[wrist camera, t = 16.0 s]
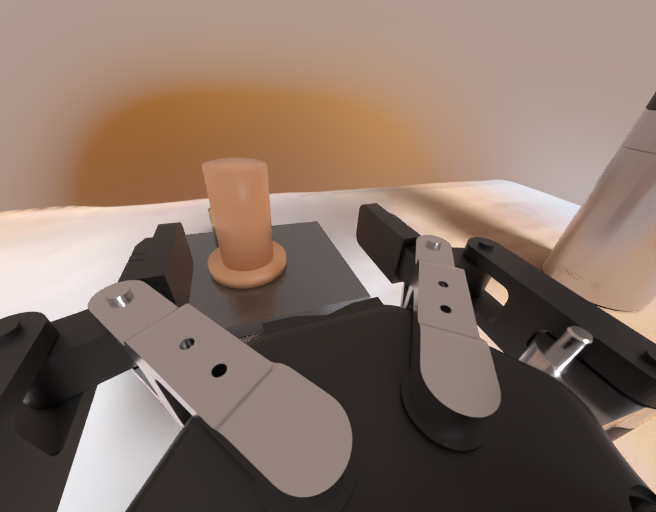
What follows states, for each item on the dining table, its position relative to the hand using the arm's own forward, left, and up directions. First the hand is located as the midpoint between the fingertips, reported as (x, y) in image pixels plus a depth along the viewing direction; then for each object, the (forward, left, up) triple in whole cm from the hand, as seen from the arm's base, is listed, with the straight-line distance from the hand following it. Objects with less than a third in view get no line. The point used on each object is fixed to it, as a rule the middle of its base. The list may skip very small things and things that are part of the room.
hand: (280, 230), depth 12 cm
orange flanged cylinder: (+1, -12, -10) cm, 16 cm away
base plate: (+1, -12, -12) cm, 17 cm away
